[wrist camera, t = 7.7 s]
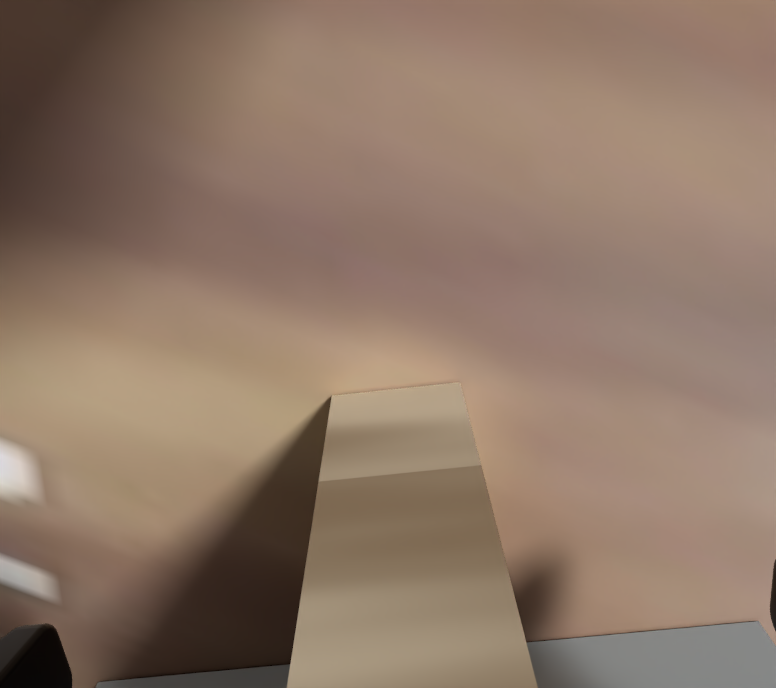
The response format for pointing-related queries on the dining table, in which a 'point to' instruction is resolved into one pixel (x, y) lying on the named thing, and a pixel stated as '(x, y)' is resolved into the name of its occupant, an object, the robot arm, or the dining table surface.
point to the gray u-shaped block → (584, 662)
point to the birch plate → (405, 554)
